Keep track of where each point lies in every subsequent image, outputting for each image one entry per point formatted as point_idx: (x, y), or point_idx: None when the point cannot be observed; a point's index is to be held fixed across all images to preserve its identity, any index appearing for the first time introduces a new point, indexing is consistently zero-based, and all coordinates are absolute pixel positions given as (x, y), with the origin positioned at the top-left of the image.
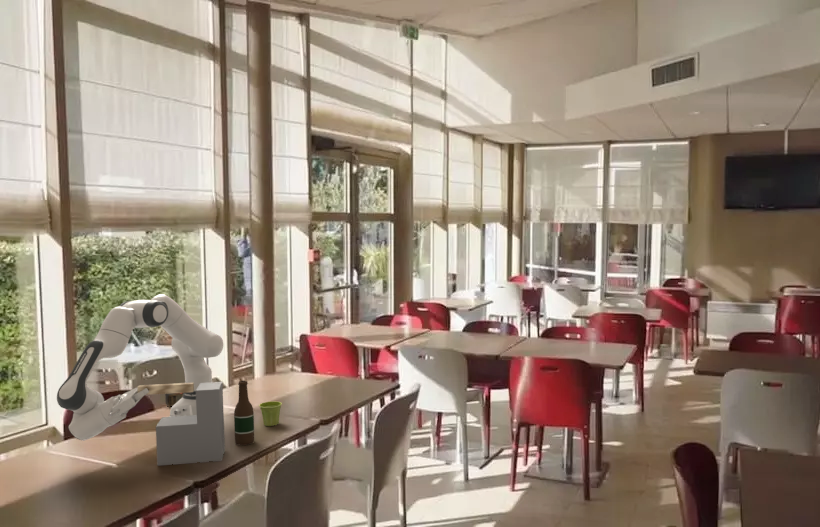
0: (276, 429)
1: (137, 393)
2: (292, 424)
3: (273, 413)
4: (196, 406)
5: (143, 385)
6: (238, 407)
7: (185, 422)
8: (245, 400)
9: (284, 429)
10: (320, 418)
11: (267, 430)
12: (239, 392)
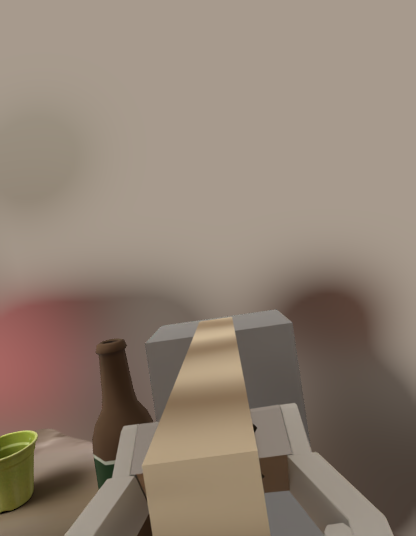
0: (68, 485)
1: (374, 508)
2: (53, 465)
3: (33, 458)
4: (302, 393)
5: (183, 425)
6: (136, 420)
7: (289, 514)
8: (134, 393)
9: (81, 472)
10: (51, 437)
11: (61, 499)
12: (119, 375)
